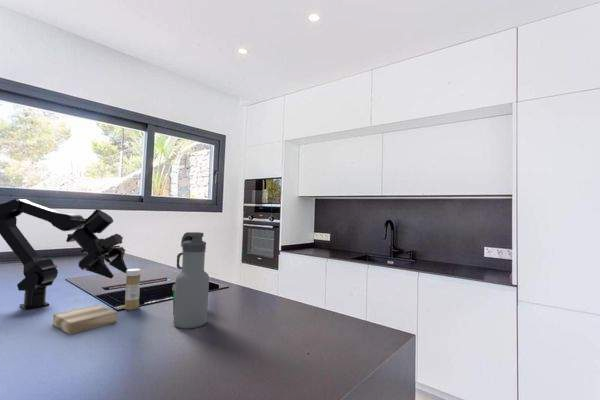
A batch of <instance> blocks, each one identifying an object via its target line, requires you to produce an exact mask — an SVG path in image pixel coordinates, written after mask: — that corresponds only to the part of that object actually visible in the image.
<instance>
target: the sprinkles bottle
mask: <svg viewBox="0 0 600 400" xmlns="http://www.w3.org/2000/svg"><path fill="white" fill-rule="evenodd" d="M141 273H142V269H140V268H127V270H126V273H125V277H126V279H125V281H126V283H125V292H124V293H125V295H124V309H125V310H127V311H128V310H136V309H139V307H140V293H141V291H140V290H141V289H140V288H141V287H140V286H141V284H140V283H141Z"/></svg>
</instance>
